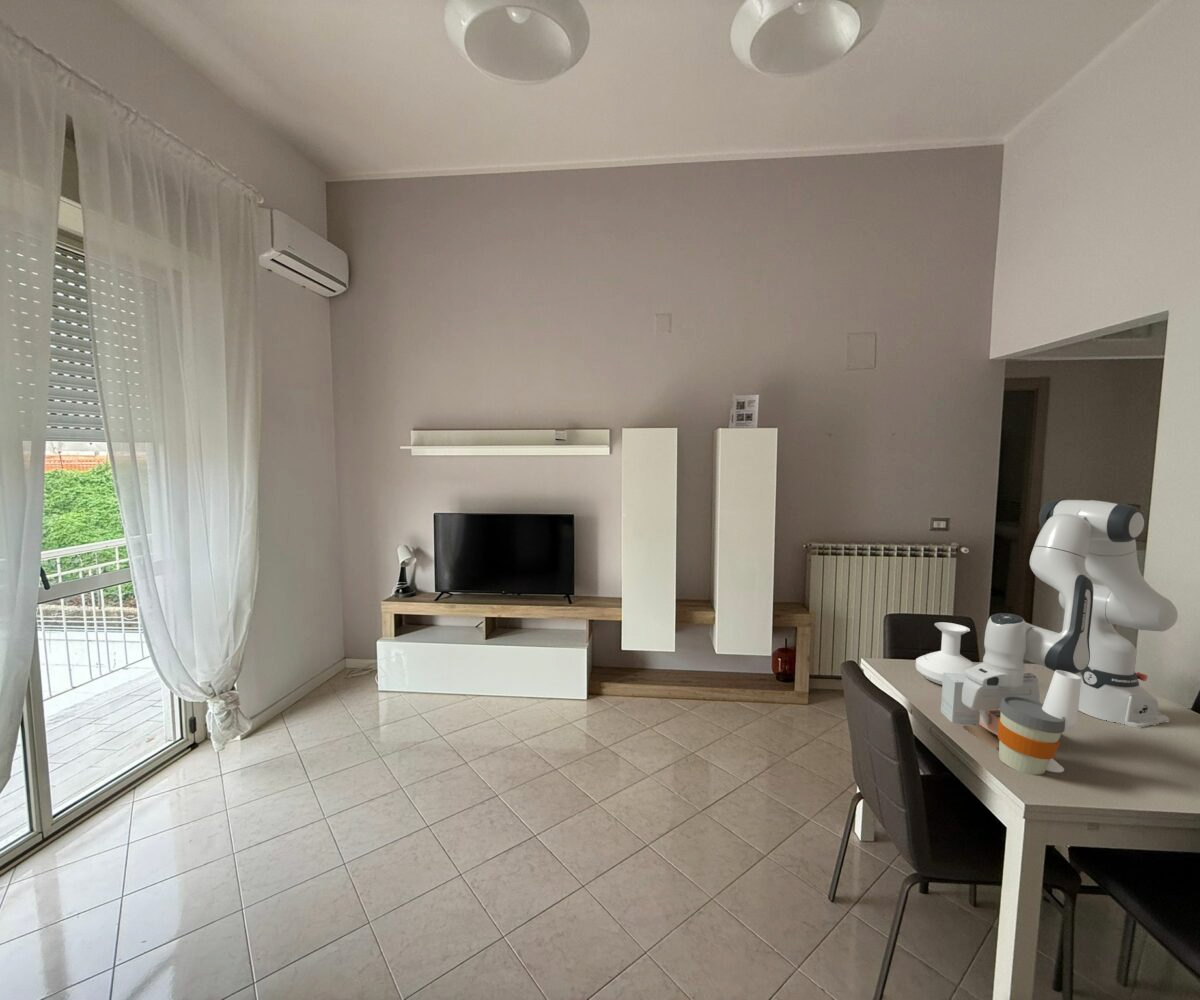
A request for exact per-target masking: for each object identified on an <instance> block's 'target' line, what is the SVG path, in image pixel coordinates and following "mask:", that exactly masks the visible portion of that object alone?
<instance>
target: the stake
mask: <svg viewBox="0 0 1200 1000" xmlns="http://www.w3.org/2000/svg"><path fill="white" fill-rule="evenodd" d="M993 714H994V715H996V716H997V717H999V718H1000V714H1001V713H998V712H994V713H993ZM992 736H993V737H995V738H998V736H997V735H996V734H994V733H992Z"/></svg>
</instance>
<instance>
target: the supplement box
mask: <svg viewBox="0 0 1200 1000" xmlns="http://www.w3.org/2000/svg"><path fill="white" fill-rule="evenodd" d="M966 679H967V677H966V676H965V674H960V673H945V672H943V684H942V685H941V686H942V688H941V702H940V703H941V705H940V712H941V714H943V715H944V716H945V718H946V719H948V721H949V722H951V723H952V722H953V723H952V724H961V723H965V724H964V725H971V724H976V725H980V724H979V721H980V712H979V710H976V711H974V710H971V709H970V708H968V707H966V706H965V705H964V704H963V702H962V688H963V683H964V681H965V680H966Z"/></svg>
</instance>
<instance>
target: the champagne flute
mask: <svg viewBox="0 0 1200 1000" xmlns="http://www.w3.org/2000/svg"><path fill="white" fill-rule="evenodd" d="M1079 676H1080V675H1077V674H1073V673H1070V672H1066V671H1062V670H1055V671H1053V675H1052V678H1051V681H1050V684H1049V687H1048V689H1047V690H1048V691H1047V692H1046V696H1045V698H1044V701H1043V703H1042V704H1043V706H1042V710H1043V711H1044V712H1046V713H1048V714H1049V715H1052V716H1054V717H1056V718H1059V719H1062V717H1065V730H1068V729H1071V728H1073V727H1075V726H1076V725H1077V724H1078V718H1079V717H1078V716H1079V710H1078V707H1079V696H1080V684H1081V677H1079ZM1046 771H1048V772H1052V773H1063V772H1064V771H1065V768H1064V767H1063V766H1062V765H1061V764H1060V763H1058V762H1057V761H1056V760H1055V759H1054V758H1052V759H1050V761H1049V764H1048V766H1047V768H1046Z"/></svg>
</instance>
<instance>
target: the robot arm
mask: <svg viewBox="0 0 1200 1000" xmlns="http://www.w3.org/2000/svg"><path fill="white" fill-rule="evenodd" d="M1038 514H1039V515H1038V522H1039V525H1040V527H1041V529H1040V531H1039V533H1038V536H1037V537H1036V540H1035V543H1034V545H1033V548H1032V550H1031V554H1030V556H1029V557H1030V558H1029V567H1030V569H1031V571H1032V572H1033V575H1035V577H1036V578H1038V579H1039V580H1040V581H1041V582H1043V583H1045V584H1046V585H1048V586H1050V587H1052V588H1054V589H1055V590H1056V591H1057V592H1059V593H1058V602H1059V605H1060V607H1061V608H1062V609H1063V610H1064V615H1063V623H1062V631H1060V632H1056V631H1053V630H1049V629H1046V628H1043V627H1041V626H1037V625H1034V624H1031V623H1028V622H1026V621H1025V619H1024V618H1023V617H1022V616H1020V615H1017V614H1014V613H1005V612H1003V613H1002V612H1000V613H995V614H992V615H991V616H989V618H988V620H987V623H986V627H985V632H984V641H983V645H984V649H985V650H984V651H985V653H984V656H983V657H982V658H983V659H982V662H979V663H978V664H976V666H974V667H971V668H968V669H966V670H965V673H964V674H965V676H966V677H967V679H966V680H965V681H964V683H963V688H962V702H963V704H964V705H965V706H966V707H968V708H970V709H971V710H974V711H976V710H979V712H980V714H981V716H982V723H984V724H986V725H989V724H992V718H990V717H989V716H988V714H987V713H989V710H998V709H999V707H1000V704H1001V701H1002V699H1003V697H1005V696H1017V697H1022V698H1027V699H1030V700H1034V701H1037V702H1039V703H1041V701H1040V688H1039V685H1038V684H1039V683H1038V682H1039V681H1038V680H1039V679H1038V677H1037V675H1035V674H1034V673H1033V672H1025V663H1024V660H1026V661H1028V662H1031V663H1034V664H1037V665H1039V666H1041V667H1045V668H1047V669H1049V670H1051V671H1052V672H1055V670H1062V671H1066V672H1070V673H1073V674H1075V675H1077V674H1079V673H1080V675H1078V676H1079V677H1081V684H1080V696H1079V707H1078V712H1081V713H1084V714H1086V715H1088V716H1091V717H1093V718H1096V719H1100V720H1103V721H1106V720H1107V722H1111V723H1114V722H1116V723H1115V724H1120V723H1121V724H1120V725H1124V724H1125V725H1124V726H1127V725H1128V726H1127V727H1131V726H1133V727H1132V728H1134V727H1137V728H1136V729H1140V728H1139V727H1144V726H1149V725H1153V726H1155V725H1154V724H1158V723H1162V722H1166V721H1170V718H1169V717H1168V716H1167V715H1166V714H1163V713H1161V712H1160V711H1159V702H1158V700H1157V698H1156V697H1155V696H1153V695H1152V694H1151V693H1150V692H1149V691H1147V690H1146V689H1145V688H1144V687H1142V686H1141V685H1140V682H1139V680H1141V681H1142V682H1146V681H1147V680H1148V675H1147V674H1145V673H1141V672H1136V671H1135V670H1136V661H1137V660H1136V659H1137V648H1136V647H1135V645H1134V644H1133V643H1132V642H1131V641H1130V640H1129V639H1127V638H1125V636H1122V635H1121V634H1119V633H1118V631H1117V630H1116V629H1115V627H1114V626H1113V625H1116V626H1120V627H1125V628H1130V629H1134V630H1135V629H1136V630H1139V631H1149V632H1160V633H1161V632H1165V631H1167V630H1170V629H1171V628H1173V627H1174V625H1175V624H1176V622H1177V620H1178V611H1177V607H1176V606H1175V605H1174V603H1173V602H1172V601H1171V600H1170V599H1168V598H1166V597H1165V596H1164V595H1162V594H1160V592H1158V591H1156V590H1155V589H1153V587H1151V586H1150V584H1149V583H1148V582H1147V581H1146V580H1145V578H1144V577H1143V575H1142V573H1141V570H1140V567H1139V561H1138V551H1137V541H1136V540H1137V539H1138V538H1139V537H1140V536H1141V534H1142V533H1143V531H1144V527H1145V516H1144V514H1143V512H1142V511H1141V510H1140V509H1139V508H1138V507H1137V506H1134V505H1130V504H1126V503H1115V502H1109V501H1102V500H1094V499H1090V500H1087V499H1085V500H1084V499H1066V498H1059V499H1058V498H1057V499H1051V500H1049V501H1047V502H1045V504H1043V505H1042V507H1040V510H1039V513H1038ZM1085 571H1086V572H1087V574H1088V575H1089V576H1090V577H1091V578H1093V579H1095V580H1096V581H1098V582H1100V583H1101V584H1099V583H1098V584H1096V583H1093V581H1092V580H1091V579H1090V578H1089V577H1088V576H1086V572H1085ZM1158 725H1159V724H1158ZM1149 727H1150V726H1149ZM1144 728H1145V727H1144Z"/></svg>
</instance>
